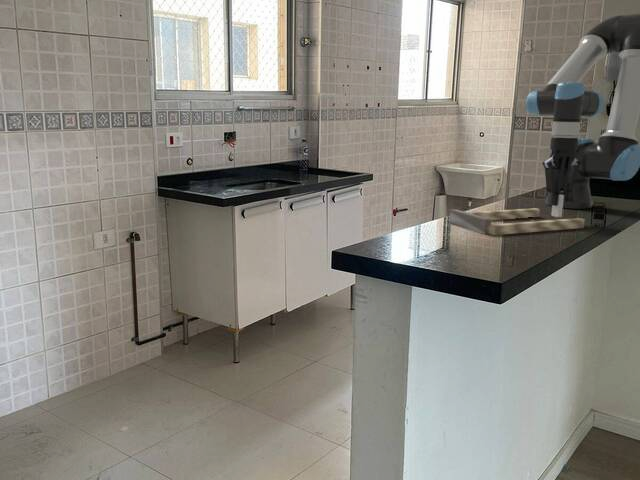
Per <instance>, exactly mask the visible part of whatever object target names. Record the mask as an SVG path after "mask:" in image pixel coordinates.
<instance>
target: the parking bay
mask: <svg viewBox="0 0 640 480" xmlns="http://www.w3.org/2000/svg"><path fill="white" fill-rule="evenodd" d="M540 210H541V209H540V208H536V207H533V208H532V207H531V208H517V209H501V210H483V211H469V212H467V211H464V210H463V211H462V210H459V209H450V210H449V221H448V222H449V224H450V225H452V226H453V225H454V226H457V227H460V228H462V229H463V228H464V229H467V230H470V231H473V232H475V233H480V234H483V235H492V236H500V235H514V234H525V233H537V232H538V233H539V232H547V231H548V232H551V231H560V230H561V231H563V230H572V229H573V230H574V229H585V218H580V217H576V218H561V219H560V218H559V219H547V220H535V221H532V220H531V221H522V222H521V221H519V222H507V223H495V224H493V223H492V221H501V220H512V219H513V220H517V219H516V218H518V219H529V218H528V217H533V218H540Z"/></svg>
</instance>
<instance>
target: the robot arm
mask: <svg viewBox="0 0 640 480" xmlns="http://www.w3.org/2000/svg"><path fill="white" fill-rule="evenodd" d="M611 53H618V57H619V58H620V59H621V63H620V68H619V73H618V76H617V77H618V78H617V80H616V86H615V90H614V93H613V94H614V96H613V100H612V104H611V108H610V113H609V117H608V120H607V121H608V122H607V126H606V130H605V132H604V133H602V134H601V135H600V136H599V139H598V142H595V138H592V137H591V138H578V137H579V136H580V132H581V131H580V130H581V129H580V127H581V121H582V117H586V118H590V117H595V116H598V115H599V114H600V113H602V111H603V109H604V107H605V98H604V96H603V95H602V93H600V92H599V91H595V90H593V89H592V90H585V84H584V83H583V82H581V81H582V79H584V77H585V75H587V73H588V72H589V71H590V70H591V69H592V67H593V66H594V65H595V64H596V63H597V61H600V60H602V59H604V58H605V56H606V55H608V54H611ZM525 106H526V107H525V108H526V111H527V113H529V114H530V115H533V116H539V117H543V116H549V117H550V116H551V117H553V118H552V126H551V127H552V128H551V135H552V136H553V137H551V138H550V145H549V149H550V152H551V153H550V155H549V158H548V159H547V160H543V161H542V165H543V169H544V174H545V186H546V187H545V188H546V192H547V193H548V194H547V196H546V198H545V204H546V205H547V206H549V207H551V216H552V217H555V218H562V217H563V209H573V210H574V209H577V210H578V209H579V210H580V209H583V210H584V209H591V208H592V207H593V199H592V194H591V193H592V192H591V188H590V179H591V178H592V179H601V180H602V179H604V180H612V181H629V180H631V179H632V178H633V177H634V176H635V175H636V174H637V172H638V171H639V169H640V145H638V144H639V139H638V138H637V137H636V130H637V125H638V122H639V117H640V13H634V14H633V13H632V14H624V15H614V16H612V17H608V18H605V20H602V21H601V22H599V23H597V24H596V25H594V26H593V27H592V28H591V29H589V31H588V32H586V33H585V34H584V35H583V36H582V37H581V38H580V40H579V42H578V47H577V48H576V49H575V51H574V52H573V53H572V54H571V55H570V56H569V58H568V59H566V61H565V63H564V64H562V66H561V67H560V68H559V70H558V71H557V72H556V73H555V74H554V75H553V77H551V79H550V80H549V81H548V83H546V84H545V86H544V87H543V88H542V90H535V91H534V90H533V91H531V92H530V93H528V95H527V96H526V100H525Z"/></svg>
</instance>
